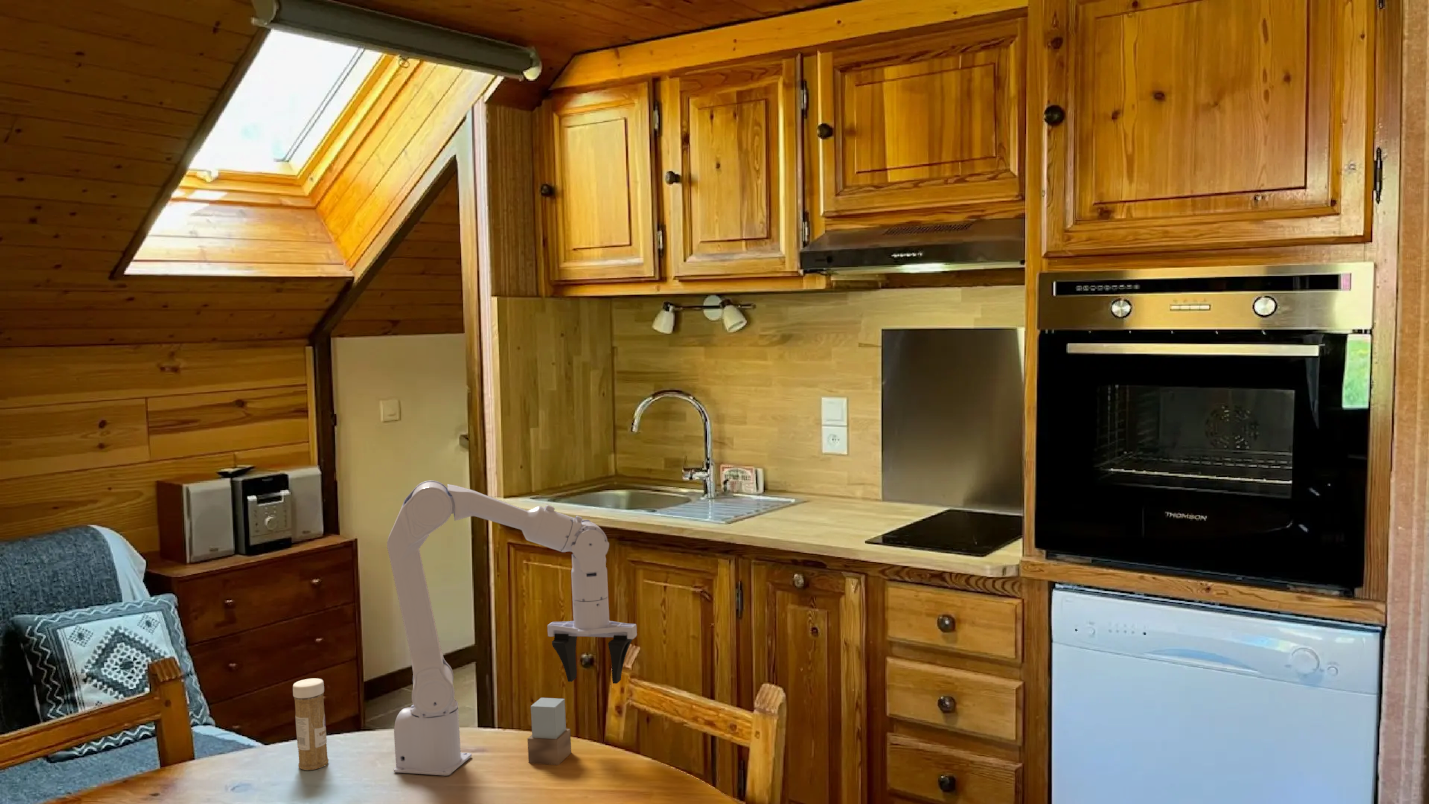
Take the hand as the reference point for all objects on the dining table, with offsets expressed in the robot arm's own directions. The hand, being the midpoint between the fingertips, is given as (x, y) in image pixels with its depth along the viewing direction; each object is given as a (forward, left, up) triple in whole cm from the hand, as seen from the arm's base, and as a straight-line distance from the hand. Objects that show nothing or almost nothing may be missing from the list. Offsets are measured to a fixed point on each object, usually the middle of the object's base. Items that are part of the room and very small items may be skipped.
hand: (594, 680), depth 175 cm
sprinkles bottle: (-42, -15, -11) cm, 46 cm away
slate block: (-5, -7, -7) cm, 11 cm away
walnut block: (-6, -7, -11) cm, 14 cm away
